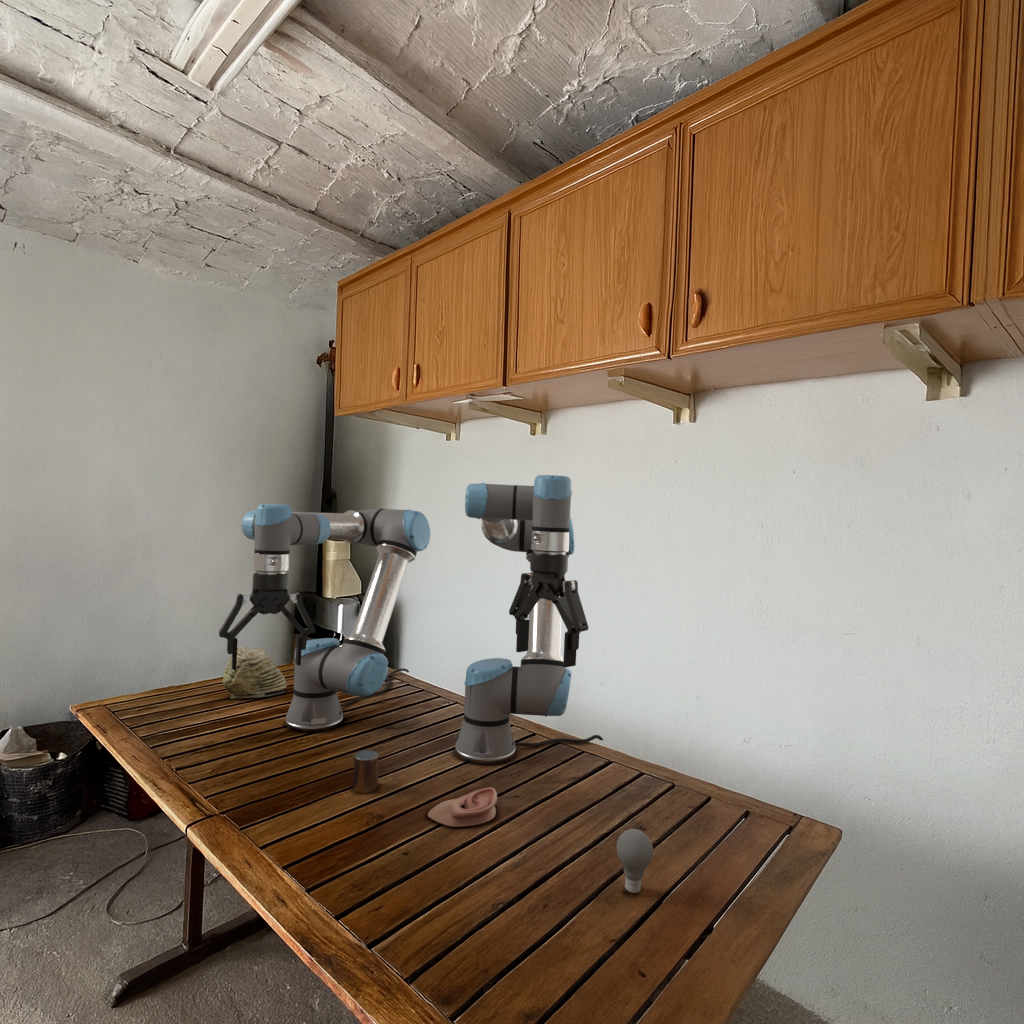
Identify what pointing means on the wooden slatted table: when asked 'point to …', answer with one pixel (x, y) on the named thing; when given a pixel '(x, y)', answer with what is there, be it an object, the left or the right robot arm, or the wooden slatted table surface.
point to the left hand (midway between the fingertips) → (266, 666)
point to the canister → (365, 771)
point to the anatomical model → (466, 809)
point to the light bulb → (634, 857)
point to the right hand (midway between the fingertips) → (544, 658)
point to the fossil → (253, 675)
